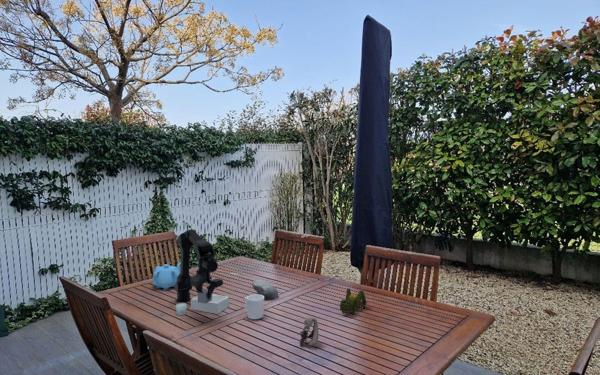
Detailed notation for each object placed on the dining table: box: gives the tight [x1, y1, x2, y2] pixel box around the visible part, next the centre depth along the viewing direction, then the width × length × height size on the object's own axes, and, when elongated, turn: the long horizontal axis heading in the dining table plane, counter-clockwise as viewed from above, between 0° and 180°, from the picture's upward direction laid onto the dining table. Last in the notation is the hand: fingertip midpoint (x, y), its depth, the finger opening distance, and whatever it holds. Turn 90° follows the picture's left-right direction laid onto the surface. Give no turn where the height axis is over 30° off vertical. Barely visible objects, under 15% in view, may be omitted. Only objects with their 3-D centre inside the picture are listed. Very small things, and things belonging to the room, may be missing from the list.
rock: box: [251, 279, 279, 300], centre depth 225 cm, size 11×17×10 cm, turn 51°
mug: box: [243, 293, 265, 321], centre depth 194 cm, size 11×9×10 cm
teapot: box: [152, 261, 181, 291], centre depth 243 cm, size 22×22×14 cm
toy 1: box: [299, 314, 319, 348], centre depth 164 cm, size 8×8×14 cm
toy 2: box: [339, 287, 368, 316], centre depth 205 cm, size 10×24×10 cm, turn 151°
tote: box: [190, 293, 230, 315], centre depth 207 cm, size 17×11×6 cm, turn 67°
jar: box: [175, 302, 187, 317], centre depth 199 cm, size 5×5×5 cm
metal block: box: [196, 288, 212, 303], centre depth 192 cm, size 5×5×5 cm
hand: (204, 298), depth 192 cm, fingers closed on metal block, 5 cm apart
